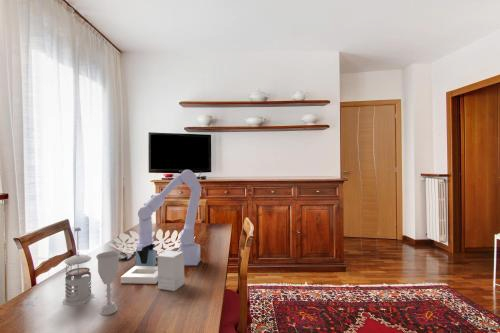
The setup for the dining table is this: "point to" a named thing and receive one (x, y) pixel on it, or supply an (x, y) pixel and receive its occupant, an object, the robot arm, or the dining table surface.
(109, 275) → the chalice
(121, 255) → the woman figurine
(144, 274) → the white rectangular frame
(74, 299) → the french press
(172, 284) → the supplement box
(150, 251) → the block
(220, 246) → the dining table surface
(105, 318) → the dining table surface
